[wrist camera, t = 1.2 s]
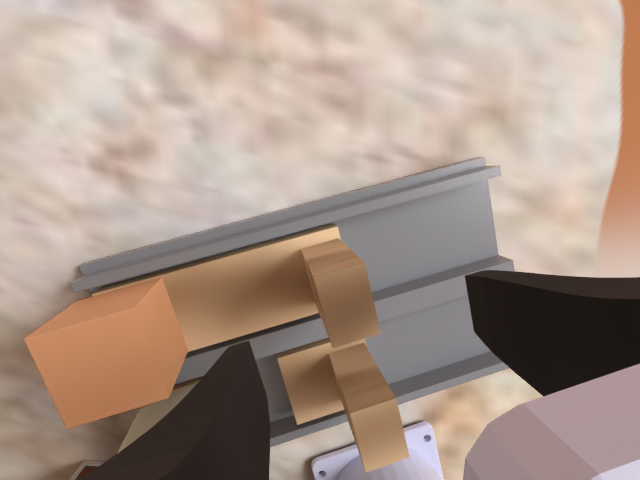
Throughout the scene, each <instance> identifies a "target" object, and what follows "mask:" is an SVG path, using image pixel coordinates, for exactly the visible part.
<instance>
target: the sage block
mask: <svg viewBox="0 0 640 480" xmlns="http://www.w3.org/2000/svg"><path fill="white" fill-rule="evenodd" d="M198 382H199V381H198ZM198 382H195V383H193V384H191V385H189V386H187V387H185V388H183V389H181V390H179V391H177V392H175V393H173V394H171V395H170V397H169V398H167V399H164V400H161V401H157V402H154V403H152V404H150V405H148V406H146V407H144V408H142V409H140V410H139V411H138V413H137V415H136V417H135V419H134V421H133V423H132V425H131V427H130V429H129V431H128V433H127V435H126V436H125V438H124V440H123V442H122V444H121V446H120V448H119V450H118V452H117V454H118V453H119V452H120V451H122V450H123V449H124V448H126V447H127V446H128V445H130V444H131V443H132V442H134V441H135V440H136V439H138V438H139V437H140V436H141V435H143V434H144V433H145V432H147V431H148V430H149V429H150V428H152V427H153V426H154V425H155V424H156V423H158V422H159V421H160V420H161V419H162V418H163V417H164V416H165V415H167V414H168V413H169V412H170V411H171V410H172V409H173V408H174V407H175V406H176V405H177V404H178V403H179V402H180V401H181V400H182V399H183V398H184V397H185V396H186V395H187V394H188V393H189V392H190V391H191V390H192V388H193V387H194V386H195V385H196V384H197V383H198Z"/></svg>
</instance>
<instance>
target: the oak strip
mask: <svg viewBox="0 0 640 480" xmlns="http://www.w3.org/2000/svg"><path fill="white" fill-rule="evenodd" d="M160 277H162V279H163V282H164V284H165V287H166V290H167V293H168V295H169V298H170V301H171V304H172V306H173V309H174V312H175V314H176V317H177V320H178V323H179V325H180V328H181V331H182V334H183V336H184V339H185V342H186V345H187V347H188V352H190V351H193V350H197V349H200V348H203V347H207V346H210V345H213V344H217V343H220V342H223V341H227V340H230V339H234V338H237V337H240V336H244V335H247V334H250V333H254V332H257V331H260V330H264V329H267V328H270V327H274V326H277V325H280V324H284V323H287V322H290V321H294V320H297V319H300V318H304V317H307V316H311V315H314V314H317V313H319V314H320V317H321V319H322V322H323V325H324V327H325V330H326V332H327V335H328V338H329V340H330V343H331V345H332V348H337V347H340V346H343V345H346V344H350V343H353V342H356V341H359V340H362V339H366V338H369V337H372V336H375V335H379V334H381V331H380V326H379V322H378V318H377V313H376V309H375V304H374V300H373V296H372V291H371V287H370V283H369V278H368V274H367V270H366V265H365V262H363V261H362V260H361V259H360V258H359V257H358V256H357V255H356V254H355V253H354V252H353V251H352V250H351V249H350V248H349V247H347V246H346V245H345V244H344V243H343V242H342V241H341V238H340V234H339V230H338V226H337V225H335V224H334V223H331V224H327V225H324V226H320V227H317V228H313V229H309V230H306V231H302V232H298V233H295V234H291V235H288V236H284V237H280V238H277V239H273V240H269V241H266V242H262V243H258V244H255V245H251V246H248V247H244V248H240V249H237V250H233V251H229V252H226V253H222V254H218V255H215V256H211V257H208V258H204V259H200V260H197V261H193V262H189V263H186V264H182V265H179V266H175V267H171V268H168V269H164V270H160V271H157V272H153V273H149V274H146V275H142V276H139V277H135V278H131V279H128V280H124V281H120V282H117V283H113V284H110V285H106V286H102V287H101V288H99V289H98V290H97V291H95V292H94V293H93V294H91V295H92V296H96V295H99V294H103V293H106V292H110V291H114V290H117V289H121V288H124V287H128V286H132V285H135V284H139V283H142V282H146V281H150V280H153V279H157V278H160Z"/></svg>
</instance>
